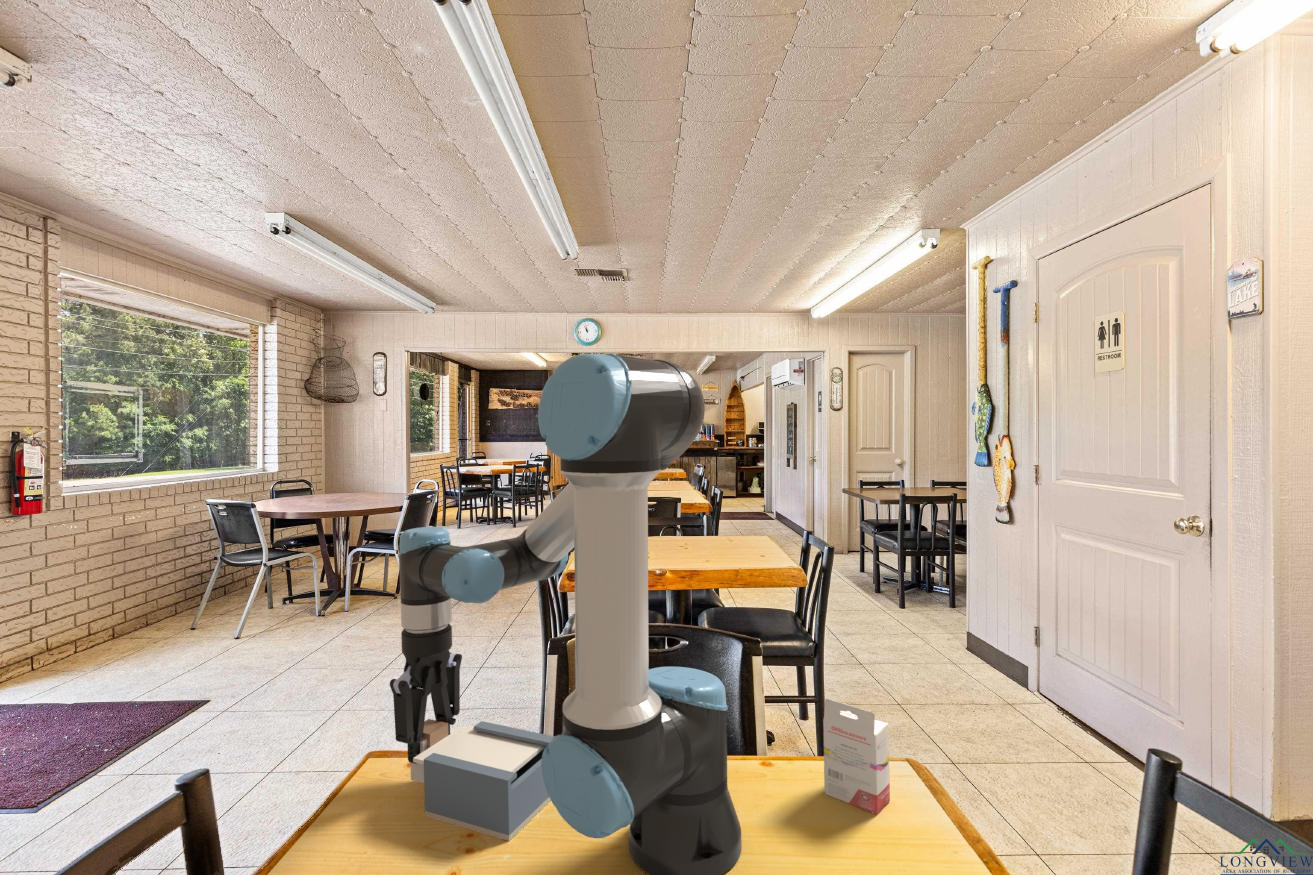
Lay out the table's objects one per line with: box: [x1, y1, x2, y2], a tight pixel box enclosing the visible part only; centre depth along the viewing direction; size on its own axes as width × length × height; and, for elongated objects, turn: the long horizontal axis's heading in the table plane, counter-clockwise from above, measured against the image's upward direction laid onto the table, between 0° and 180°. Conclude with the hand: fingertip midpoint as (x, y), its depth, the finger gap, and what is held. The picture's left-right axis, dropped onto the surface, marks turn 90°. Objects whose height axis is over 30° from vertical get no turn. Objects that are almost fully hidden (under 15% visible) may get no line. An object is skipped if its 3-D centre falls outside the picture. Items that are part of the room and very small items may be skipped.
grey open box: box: [423, 720, 556, 842], centre depth 96 cm, size 15×13×8 cm
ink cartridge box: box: [822, 698, 891, 815], centre depth 96 cm, size 9×5×15 cm, turn 47°
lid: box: [413, 718, 545, 773], centre depth 98 cm, size 20×11×4 cm, turn 66°
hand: (430, 772), depth 102 cm, fingers closed on lid, 4 cm apart
